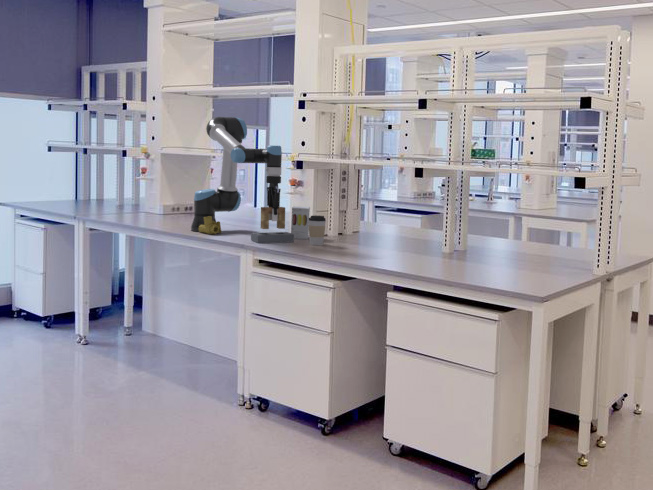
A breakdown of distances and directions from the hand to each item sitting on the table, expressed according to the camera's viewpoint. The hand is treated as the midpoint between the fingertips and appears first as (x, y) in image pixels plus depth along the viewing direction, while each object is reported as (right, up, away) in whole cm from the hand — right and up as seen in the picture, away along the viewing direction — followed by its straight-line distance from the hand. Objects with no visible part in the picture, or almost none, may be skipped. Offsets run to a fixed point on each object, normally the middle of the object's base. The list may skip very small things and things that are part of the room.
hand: (272, 220), depth 378 cm
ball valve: (-36, -7, +25) cm, 44 cm away
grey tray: (0, -11, +2) cm, 11 cm away
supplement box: (+13, -9, +19) cm, 25 cm away
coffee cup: (+23, -13, -5) cm, 26 cm away
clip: (0, -4, +1) cm, 4 cm away
